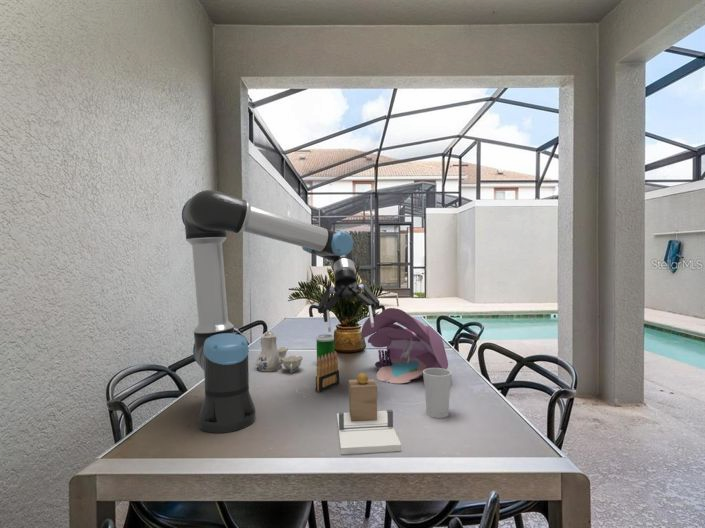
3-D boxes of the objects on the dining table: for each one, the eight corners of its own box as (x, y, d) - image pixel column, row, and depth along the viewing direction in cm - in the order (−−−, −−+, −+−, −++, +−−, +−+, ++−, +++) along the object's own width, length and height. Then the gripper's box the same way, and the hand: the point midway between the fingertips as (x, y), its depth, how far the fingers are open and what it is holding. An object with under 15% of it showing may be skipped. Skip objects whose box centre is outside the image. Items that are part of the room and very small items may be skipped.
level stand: (336, 418, 109) (336, 399, 109) (386, 416, 111) (386, 396, 111) (341, 454, 90) (340, 430, 89) (401, 451, 91) (400, 427, 91)
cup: (434, 421, 107) (433, 377, 107) (417, 410, 114) (417, 369, 114) (457, 416, 110) (457, 373, 110) (440, 406, 117) (440, 366, 117)
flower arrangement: (354, 389, 147) (339, 318, 143) (379, 362, 167) (366, 299, 163) (445, 395, 130) (431, 315, 126) (461, 364, 150) (449, 293, 146)
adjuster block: (349, 411, 110) (348, 370, 109) (374, 410, 110) (373, 369, 110) (351, 420, 104) (350, 377, 103) (377, 419, 104) (376, 376, 104)
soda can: (338, 364, 164) (337, 336, 164) (322, 367, 160) (322, 338, 159) (328, 360, 170) (328, 333, 170) (313, 363, 166) (313, 335, 166)
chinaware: (309, 376, 154) (312, 333, 155) (269, 379, 145) (273, 334, 145) (280, 361, 177) (283, 324, 178) (244, 363, 168) (247, 324, 168)
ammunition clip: (319, 392, 130) (318, 357, 130) (315, 391, 132) (314, 356, 131) (339, 384, 139) (339, 350, 139) (335, 383, 140) (335, 349, 140)
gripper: (380, 277, 139) (389, 329, 126) (310, 285, 138) (312, 337, 125) (380, 264, 134) (390, 316, 120) (307, 271, 133) (309, 325, 119)
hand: (351, 327), depth 122 cm, fingers open, 13 cm apart
